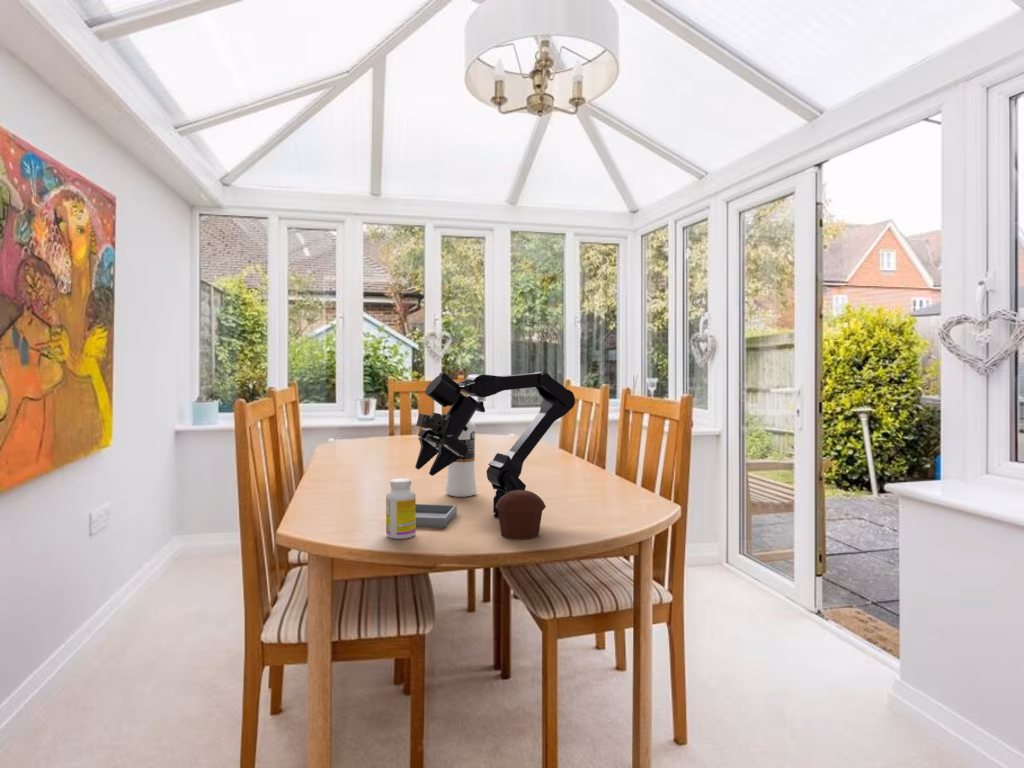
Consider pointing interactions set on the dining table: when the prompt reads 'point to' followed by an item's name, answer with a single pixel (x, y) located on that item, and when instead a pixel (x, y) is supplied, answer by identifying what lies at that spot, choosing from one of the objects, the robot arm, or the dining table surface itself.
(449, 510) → the tray
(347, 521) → the dining table surface
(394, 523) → the supplement bottle
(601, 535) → the dining table surface
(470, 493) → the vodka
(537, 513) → the muffin
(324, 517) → the dining table surface
